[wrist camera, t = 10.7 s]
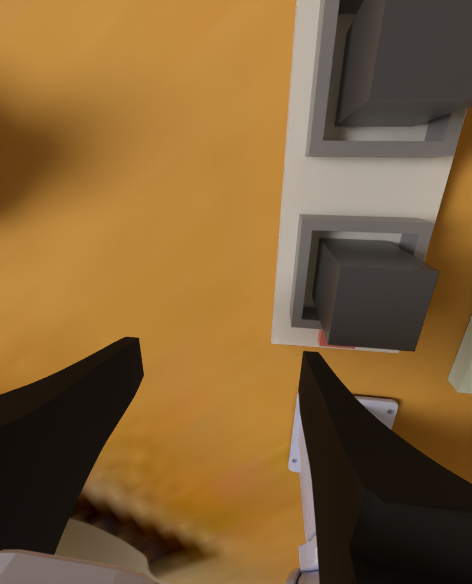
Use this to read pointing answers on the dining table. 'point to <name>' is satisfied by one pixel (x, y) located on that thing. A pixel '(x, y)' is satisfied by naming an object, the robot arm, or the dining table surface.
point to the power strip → (353, 206)
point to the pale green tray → (463, 364)
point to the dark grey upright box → (406, 63)
